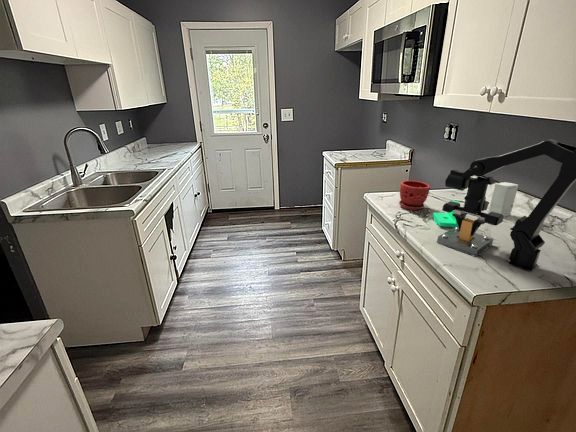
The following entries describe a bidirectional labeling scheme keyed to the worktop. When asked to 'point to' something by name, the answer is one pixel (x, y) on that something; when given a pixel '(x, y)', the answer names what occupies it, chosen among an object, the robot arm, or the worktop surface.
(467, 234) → the tan square peg
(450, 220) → the camera mount
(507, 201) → the skincare box
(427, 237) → the worktop surface
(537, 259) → the robot arm
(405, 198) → the plant pot
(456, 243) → the grey square hole plate
